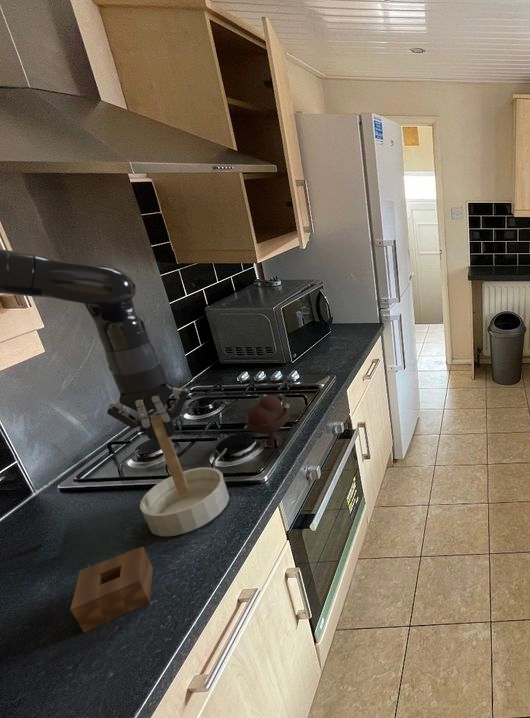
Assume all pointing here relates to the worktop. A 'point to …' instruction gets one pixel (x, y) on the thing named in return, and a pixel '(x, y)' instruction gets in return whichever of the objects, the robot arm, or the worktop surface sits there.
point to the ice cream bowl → (267, 418)
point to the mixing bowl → (185, 502)
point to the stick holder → (112, 589)
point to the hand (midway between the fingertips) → (163, 436)
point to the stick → (170, 455)
